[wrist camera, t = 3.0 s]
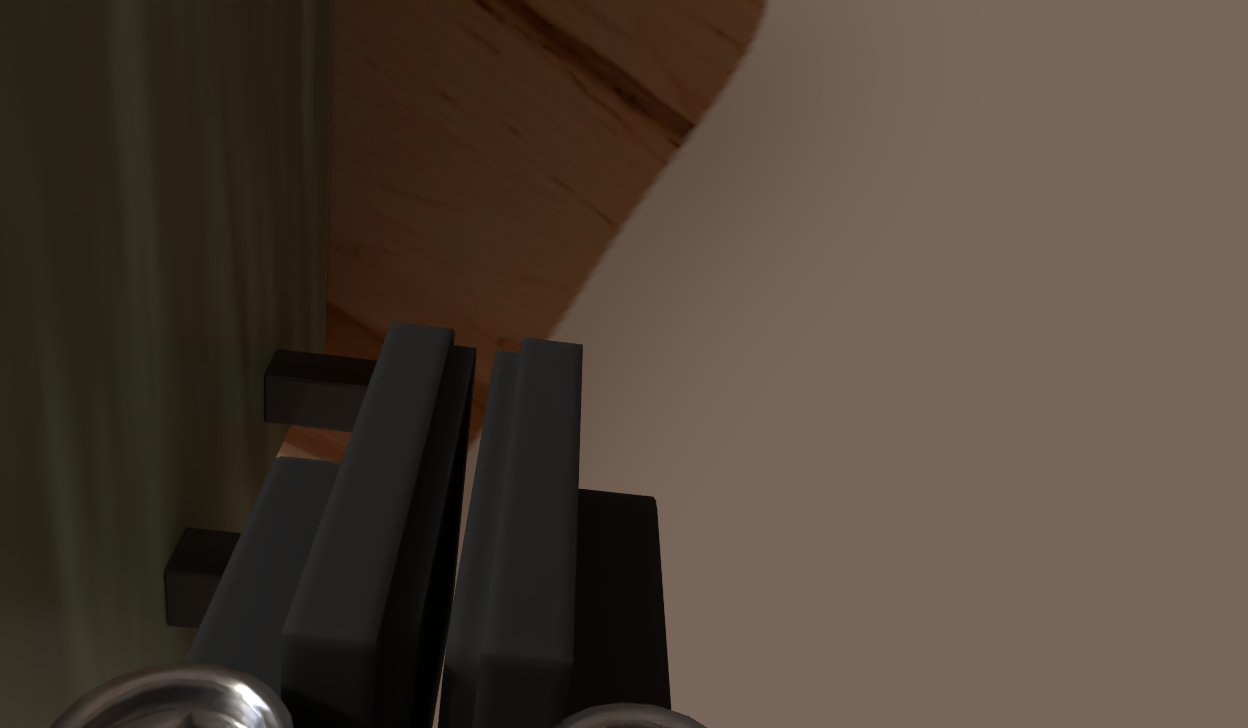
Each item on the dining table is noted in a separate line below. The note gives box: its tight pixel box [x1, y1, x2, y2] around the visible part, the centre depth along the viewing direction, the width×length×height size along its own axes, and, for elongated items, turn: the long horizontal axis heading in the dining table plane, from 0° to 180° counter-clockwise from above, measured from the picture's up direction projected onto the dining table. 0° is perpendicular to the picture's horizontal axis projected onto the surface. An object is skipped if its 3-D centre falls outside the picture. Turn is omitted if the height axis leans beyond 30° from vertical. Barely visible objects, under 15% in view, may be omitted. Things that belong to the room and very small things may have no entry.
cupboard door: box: [0, 0, 377, 728], centre depth 25 cm, size 6×26×24 cm, turn 172°
